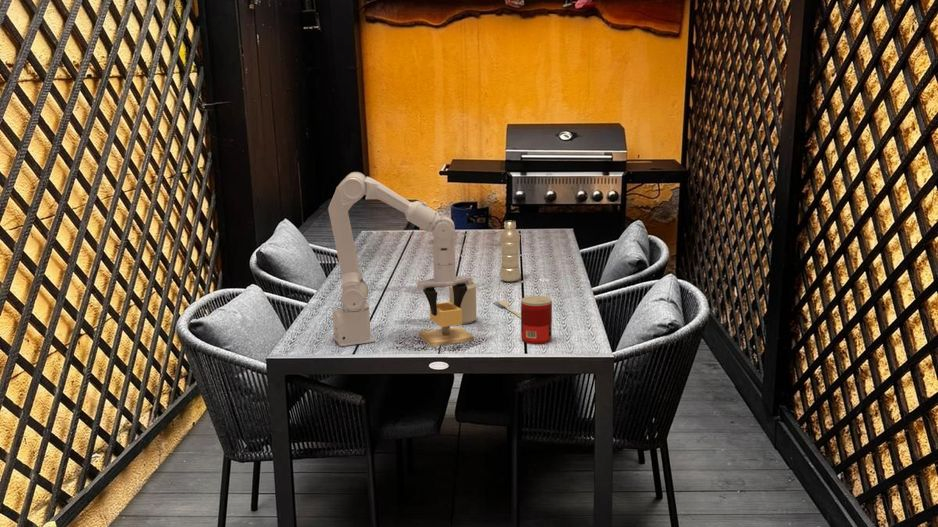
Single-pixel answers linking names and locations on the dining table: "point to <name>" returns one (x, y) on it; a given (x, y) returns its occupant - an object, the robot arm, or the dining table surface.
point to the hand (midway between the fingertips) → (445, 313)
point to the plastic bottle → (510, 252)
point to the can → (467, 303)
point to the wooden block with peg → (445, 336)
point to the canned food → (536, 319)
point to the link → (447, 314)
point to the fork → (505, 303)
